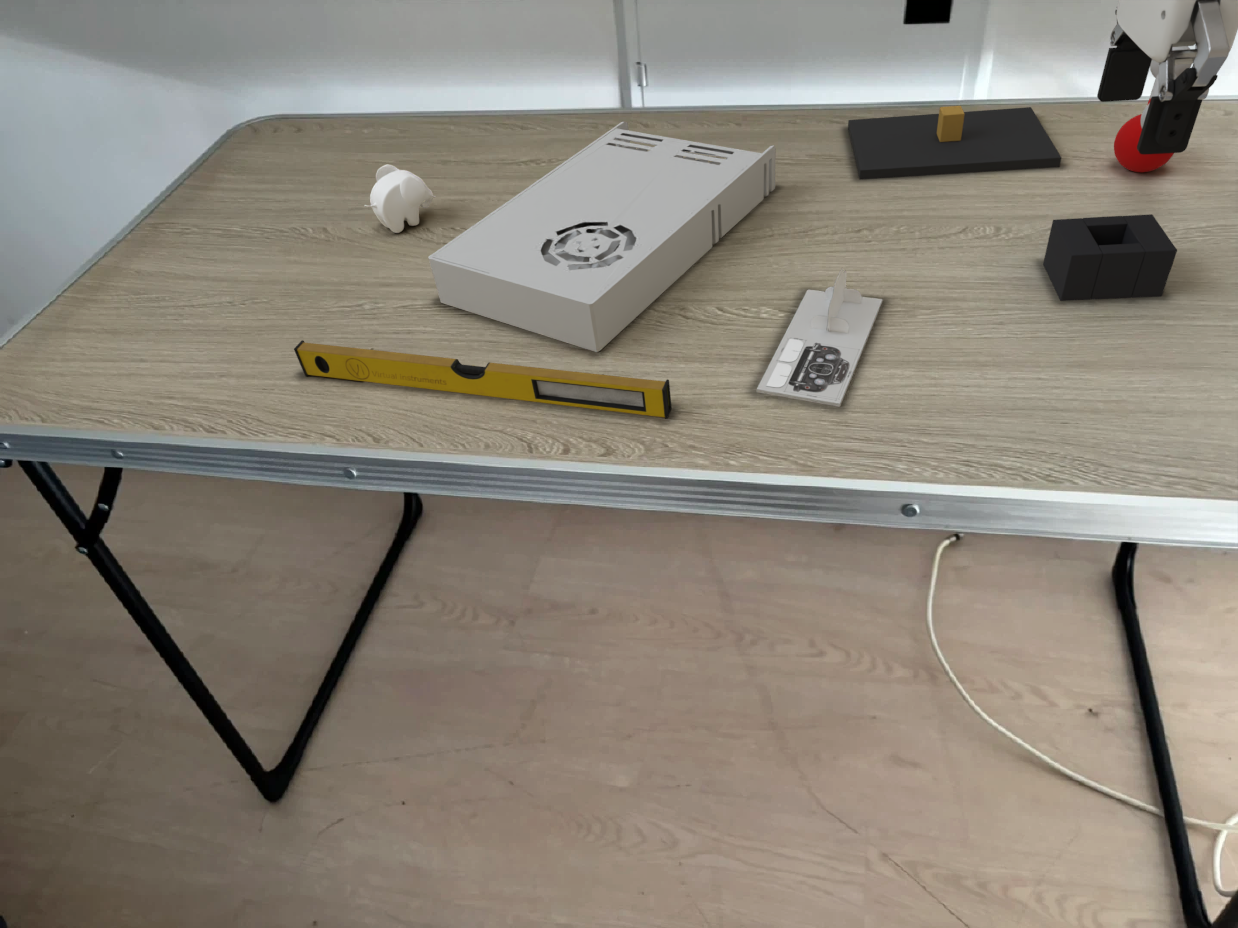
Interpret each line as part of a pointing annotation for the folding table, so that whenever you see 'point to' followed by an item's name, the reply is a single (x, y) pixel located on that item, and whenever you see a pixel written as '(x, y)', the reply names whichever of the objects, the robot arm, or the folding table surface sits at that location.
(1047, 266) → the black socket block
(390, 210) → the elephant figurine
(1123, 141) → the molecular model
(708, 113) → the folding table surface
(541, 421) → the folding table surface
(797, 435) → the folding table surface
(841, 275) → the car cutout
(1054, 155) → the base pad
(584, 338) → the power supply unit
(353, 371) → the spirit level
